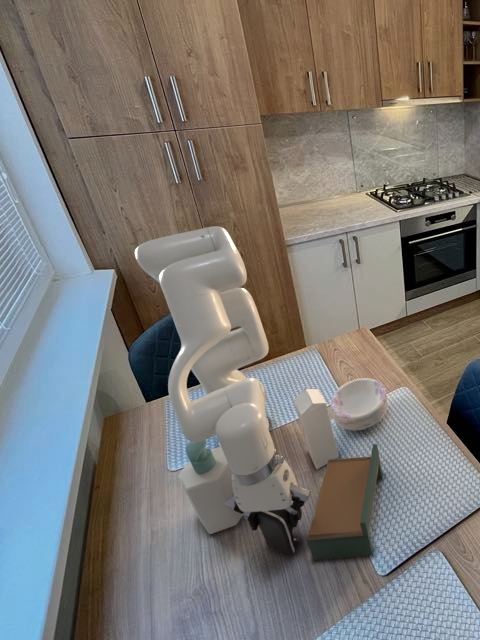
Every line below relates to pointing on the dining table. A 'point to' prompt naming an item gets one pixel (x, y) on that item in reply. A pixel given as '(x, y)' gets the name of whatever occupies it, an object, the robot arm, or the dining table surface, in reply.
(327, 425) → the milk
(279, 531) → the battery charger
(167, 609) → the dining table surface
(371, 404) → the paper bowls
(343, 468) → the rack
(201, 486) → the soap bottle
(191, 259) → the robot arm
